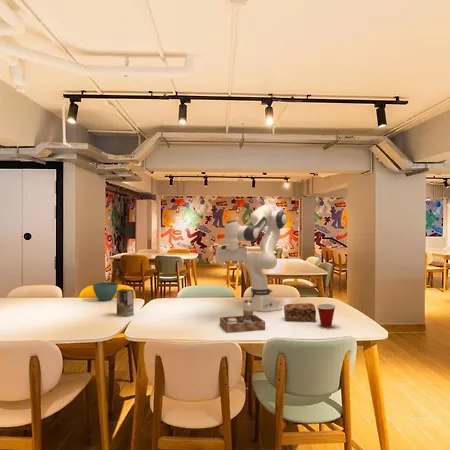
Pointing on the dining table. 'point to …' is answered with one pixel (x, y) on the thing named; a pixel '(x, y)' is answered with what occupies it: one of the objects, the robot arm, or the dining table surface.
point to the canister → (247, 311)
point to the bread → (300, 312)
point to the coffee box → (125, 302)
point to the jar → (232, 320)
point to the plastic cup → (326, 314)
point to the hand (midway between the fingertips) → (231, 268)
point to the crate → (242, 324)
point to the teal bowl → (105, 290)
